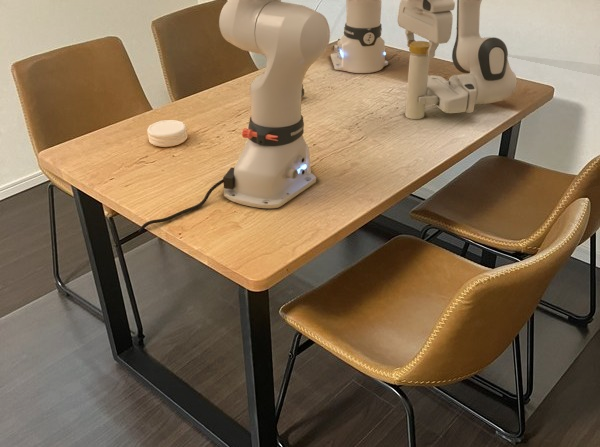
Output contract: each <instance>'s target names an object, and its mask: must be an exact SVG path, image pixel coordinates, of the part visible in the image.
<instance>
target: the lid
mask: <svg viewBox="0 0 600 447" xmlns="http://www.w3.org/2000/svg"><path fill="white" fill-rule="evenodd" d="M429 47H430V44H429V41H425V40H415V41H414V42H411V43H410V47H408V50H409V51H408V52H410V53H414V54H426V50H428V49H429Z"/></svg>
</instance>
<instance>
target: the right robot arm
mask: <svg viewBox="0 0 600 447" xmlns="http://www.w3.org/2000/svg"><path fill="white" fill-rule="evenodd" d="M345 2H346V8H345V9H346V12H345V14H346V18H345V19H346V22H345V23H344V27H343V35H342V36H341V37H340V38H338V39H337V44H334V45H333V46H332V48H333V53H331V54H330V60H331V62H332V65H333V69H334V70H335V71H344V72H349V73H354V74H370V73H376V72H379V71H381V70H383V68H385V67H387V66H388V65H389V61H388V60H386V59H385V57H386V55H387V54H386V53H387V52H385V50H386V49H385V47H386V46H385V43H386V42H385V40H384V38H382V37H381V36H382V32H383V31H382V30H383V28H382V23H381V19H382V4H383V3H382V0H345ZM482 2H483V0H456V36H455V42H454V45H453V48H452V53H451V59H452V60H451V61H452V63H453V65H454V67H455V68H456V69H457V70H458V71H459V72H460V73H461V74H453V75H451V76H450V77H449V79H448V80H447V79H446V78H444V77H443V76H441V75H428V82H427V93H426V96H418V98H417V99H418V100H417V102H418V103H419V104H425V105H429V106H436V107H437V108H438V109H439V110H440V111H442V112H443V113H446V114H458V113H467V114H469V113H473V112H474V110H475V105H476V104H482V105H489V104H494V103H499V102H502V101H506V100H507V99H509V98H511V97H513V95H514V93H515V91H516V89H517V84H518V83H517V82H518V80H517V75H516V74H515V71H513V69H512V68H511V66H510V65H511V64H510V62H509V58H508V57H509V56H508V55H509V54H508V53H509V52H508V51H509V50H508V47H507V45H506V43H505V42H504V41H503V40H502V39H501V38H498V37H491V36H488V37H487V36H486V37H481V35H480V19H481V18H480V15H481V4H482Z"/></svg>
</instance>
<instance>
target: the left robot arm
mask: <svg viewBox="0 0 600 447" xmlns="http://www.w3.org/2000/svg"><path fill="white" fill-rule="evenodd" d="M455 6H456V3H455V1H454V0H400V2H399V5H398V11H397V12H398V13H397V25H398V27H400V28H401V29H404V30H405V32H404V33H405V37H406V46H407V48H409V47H410V43H411V42H414V41H416V40H415V35H417V36H419V37H421V38H423V39H425V40H427V41H428V42H429V44H430V47H429V49H428V50H426V56H427V57H429V58H430V59H433V58H434V57H435V56H436V51H437V49H438V47H439V45H441V44H447V43H448V42H449V41H450V39H451V36H452V31H453V22H454V21H453V13H452V11H454V10H455V8H456V7H455ZM218 25H219V31H220V34H221V36H222V38H223V39H224V40H225V41H226V42H228V43H229V44H231V45H233V46H234V47H236V48H238V49H240V50H242V51H245V52H248V53H249V52H250V53H254V54H258V55H261V56H265V60H266V63H265V64H266V65H265V70H264V71H263V72H261V73H260V74H258V75H257V76H256V77H255V78H254V79H253V80H252V81H251V83H250V85H249V101H250V102H249V103H250V117H249V123H248V126H247V128H245V127H244V128H243V129H242V131H241V137H242V138H244V139H247V140H246V142H245V144H244V146H243V148H242V151H241V153H240V154H239V157H238V159H237V161H236V163H235V166H234V167H230V168H229V170H227V172H226V173H225V174H224V175H223V177H222V179H221V180H218V181H217V182H216V183H215V184H213V185H212V186H211V187H210V188H209V189H208V190H207V192H206V194H205V196H204V197H203V198H202V200H201V201H200V202H199V203H197V204H196V205H194V206H192V207H188V208H185V209H183V210H181V211H178V212H176V213H174V214H171V215H169V216H166V217H163V218H159V219H151V220H149V221H146V222H145V223H143V224H142V225H141V226H140V228H139V229H138V233H142V232H143V231H144V230H145V229H146V228H147V227H148V226H150V225H152V224H153V225H154V224H160V223H165V222H168V221H170V220H173V219H175V218H177V217H180V216H182V215H184V214H186V213H189V212H191V211H194V210H197V209H199V208H201V207H202V206H203V205H204V204H205V203H207V200H208V199H209V197H210V195H211V193H212V192H213V191H215V189H217V188H218V187H219V186H220V185H222V184H223V189H224V190H223V196H224V198H225V199H228V200H229V201H231V202H233V203H237V204H239V205H244V206H248V207H252V208H258V209H278V208H280V207H283V205H285V204H286V203H288V202H289V201H292V199H294V198H295V197H296V196H298V195H299V194H301V193H303V192H304V191H305V190H307V189H308V188H309V187H311V186H313V185H314V184H316V182H317V176H316V175H315V174H314V173H312V167H311V154H310V147H309V145H308V144H307V142H306V140H305V138H304V133H305V132H304V131H305V130H304V127H305V121H304V116H303V115H302V98H301V95H302V84H303V85H304V79H305V76H306V74H307V72H308V70H309V68H310V67H311V66H312V65H313V64H314V63H316V62H317V61H318V60H320V59H321V58H322V57H323V55H324V54H325V53H326V51H327V49H328V47H329V45H330V44H329V43H330V39H331V29H330V25H329V22H328V20H327V18H326V17H325V15H323V13H320V12H319V11H317V10H315V9H312V8H310V7H308V6H306V5H302V4H297V3H291V2H286V1H282V0H227V1H226V3H225V4H223V7H222V9H221V11H220V14H219V18H218Z"/></svg>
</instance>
